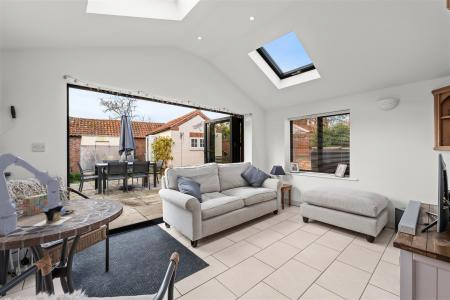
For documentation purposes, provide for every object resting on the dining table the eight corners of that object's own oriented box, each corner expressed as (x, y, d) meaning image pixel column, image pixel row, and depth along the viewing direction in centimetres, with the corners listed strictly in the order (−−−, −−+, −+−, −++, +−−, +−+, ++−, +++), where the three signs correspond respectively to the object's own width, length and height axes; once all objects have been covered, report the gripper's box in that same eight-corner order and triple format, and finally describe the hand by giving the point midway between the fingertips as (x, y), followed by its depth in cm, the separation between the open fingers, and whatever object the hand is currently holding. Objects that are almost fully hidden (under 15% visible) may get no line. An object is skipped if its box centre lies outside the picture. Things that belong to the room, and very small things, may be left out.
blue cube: (61, 216, 131) (61, 210, 131) (54, 216, 131) (54, 210, 131) (65, 214, 136) (65, 208, 136) (58, 214, 135) (58, 208, 135)
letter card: (58, 225, 116) (58, 224, 116) (31, 227, 113) (31, 226, 113) (72, 217, 129) (72, 216, 129) (48, 218, 127) (48, 217, 127)
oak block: (55, 222, 119) (55, 214, 119) (46, 222, 118) (46, 214, 118) (60, 219, 124) (60, 211, 124) (51, 219, 123) (51, 212, 123)
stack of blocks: (54, 206, 155) (54, 191, 155) (61, 206, 154) (61, 191, 154) (22, 215, 134) (22, 197, 134) (29, 215, 133) (29, 198, 133)
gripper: (52, 200, 115) (52, 223, 115) (67, 195, 129) (67, 214, 129) (39, 201, 113) (39, 223, 113) (55, 195, 128) (55, 215, 128)
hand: (53, 219), depth 121 cm, fingers closed on oak block, 5 cm apart
